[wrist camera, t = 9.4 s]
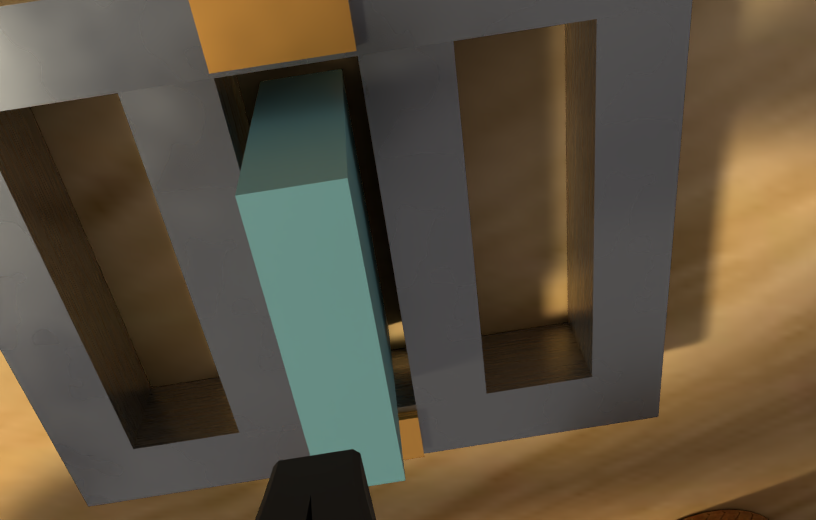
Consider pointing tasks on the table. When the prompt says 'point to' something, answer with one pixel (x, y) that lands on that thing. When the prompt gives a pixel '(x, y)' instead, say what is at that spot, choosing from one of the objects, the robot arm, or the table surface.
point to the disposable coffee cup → (727, 515)
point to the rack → (403, 209)
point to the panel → (321, 269)
